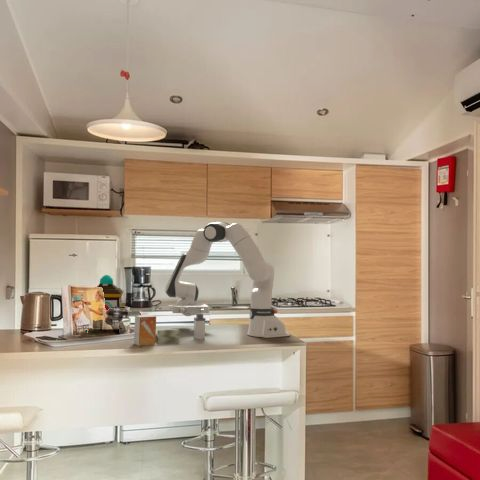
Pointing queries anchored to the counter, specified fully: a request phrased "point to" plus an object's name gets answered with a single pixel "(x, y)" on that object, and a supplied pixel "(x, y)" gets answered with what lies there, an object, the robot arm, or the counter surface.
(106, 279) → the decorative lantern
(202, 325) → the connector
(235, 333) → the counter surface
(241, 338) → the counter surface
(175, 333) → the socket
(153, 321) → the small box
